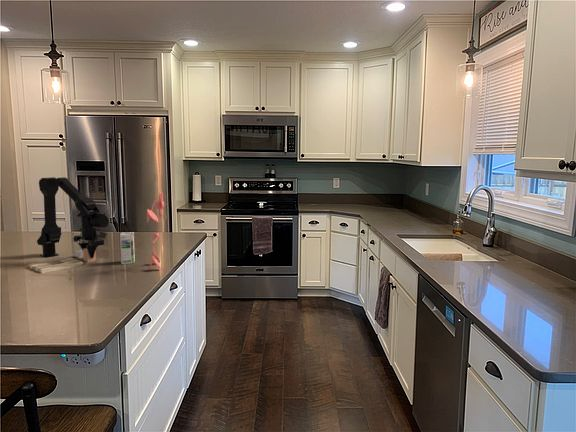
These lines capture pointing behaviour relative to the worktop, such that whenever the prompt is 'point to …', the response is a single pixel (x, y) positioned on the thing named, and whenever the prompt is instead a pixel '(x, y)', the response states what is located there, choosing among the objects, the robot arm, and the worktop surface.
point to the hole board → (51, 264)
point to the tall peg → (88, 256)
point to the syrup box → (127, 248)
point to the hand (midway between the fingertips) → (89, 257)
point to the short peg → (79, 254)
